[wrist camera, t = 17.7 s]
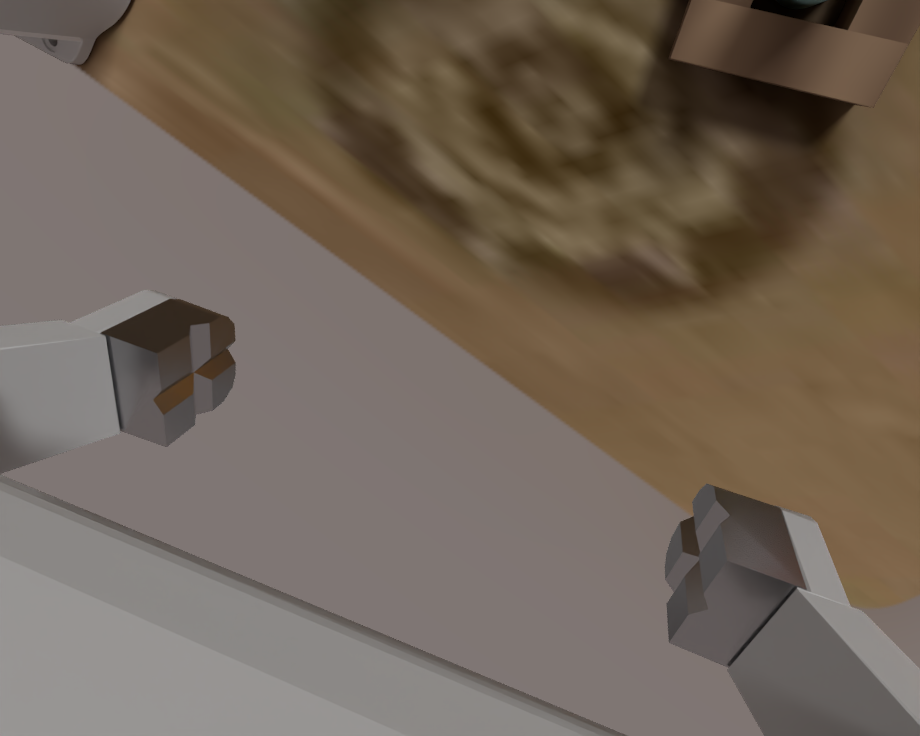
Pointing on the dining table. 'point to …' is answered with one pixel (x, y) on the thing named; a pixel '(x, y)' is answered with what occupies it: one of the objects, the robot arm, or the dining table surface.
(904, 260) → the dining table surface
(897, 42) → the socket block
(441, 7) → the dining table surface
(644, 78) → the dining table surface
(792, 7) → the peg
